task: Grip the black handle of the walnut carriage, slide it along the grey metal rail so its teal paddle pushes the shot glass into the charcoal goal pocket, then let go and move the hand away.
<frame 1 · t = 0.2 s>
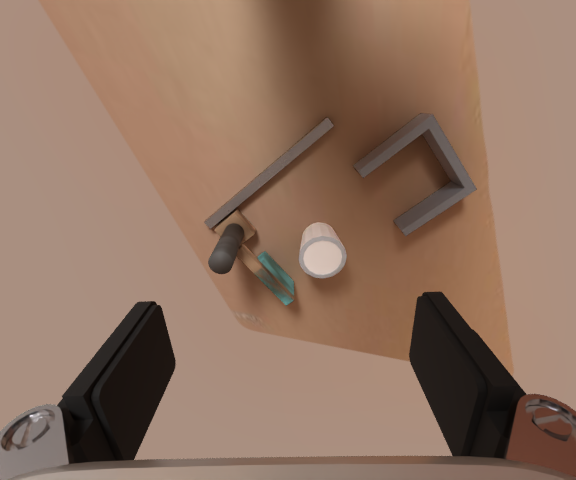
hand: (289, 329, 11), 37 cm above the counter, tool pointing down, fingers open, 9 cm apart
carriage: (256, 270, 45), point 6 cm above the counter, slide at 0.0 cm
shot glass: (318, 237, 50), on the counter
rail: (265, 175, 46), on the counter
goal: (404, 176, 45), on the counter
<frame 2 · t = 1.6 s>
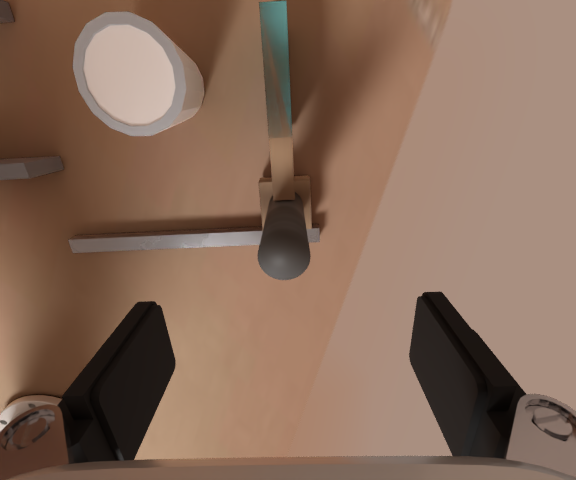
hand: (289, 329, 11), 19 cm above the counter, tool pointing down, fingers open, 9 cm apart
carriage: (280, 142, 21), point 6 cm above the counter, slide at 0.0 cm
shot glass: (171, 86, 25), on the counter
rail: (197, 236, 30), on the counter
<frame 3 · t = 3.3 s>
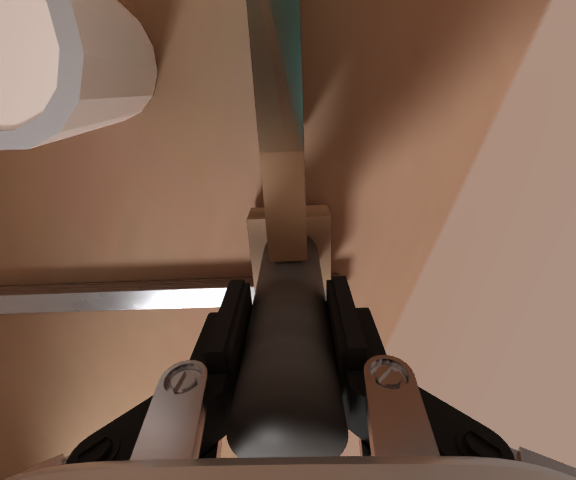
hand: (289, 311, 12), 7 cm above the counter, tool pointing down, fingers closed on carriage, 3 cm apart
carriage: (282, 162, 11), point 6 cm above the counter, slide at 0.0 cm, touching gripper
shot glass: (102, 62, 15), on the counter
rail: (159, 289, 20), on the counter
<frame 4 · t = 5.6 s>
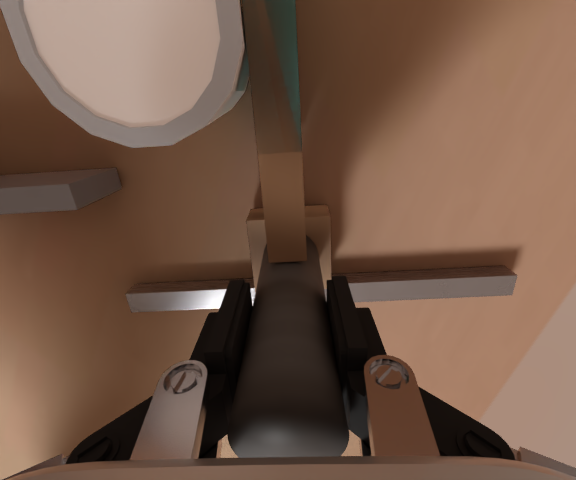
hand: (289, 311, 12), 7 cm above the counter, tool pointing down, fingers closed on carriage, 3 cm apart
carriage: (280, 162, 11), point 6 cm above the counter, slide at 10.4 cm, touching gripper, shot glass
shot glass: (195, 59, 15), on the counter, touching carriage
rail: (315, 284, 20), on the counter
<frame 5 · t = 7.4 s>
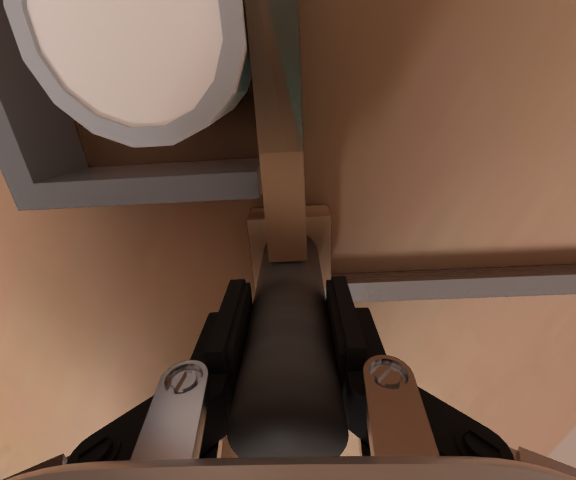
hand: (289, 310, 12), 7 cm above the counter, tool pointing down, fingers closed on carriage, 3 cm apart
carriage: (281, 162, 11), point 6 cm above the counter, slide at 18.8 cm, touching gripper, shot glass
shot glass: (197, 59, 15), on the counter, touching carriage
rail: (444, 279, 20), on the counter
goal: (155, 59, 15), on the counter
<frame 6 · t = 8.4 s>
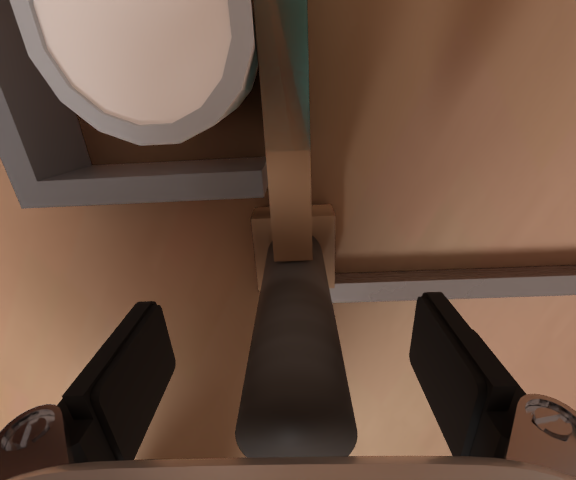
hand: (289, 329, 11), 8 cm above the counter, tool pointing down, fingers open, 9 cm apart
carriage: (288, 161, 11), point 6 cm above the counter, slide at 18.8 cm, touching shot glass
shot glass: (202, 57, 15), on the counter, touching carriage
rail: (447, 279, 20), on the counter
goal: (159, 57, 15), on the counter
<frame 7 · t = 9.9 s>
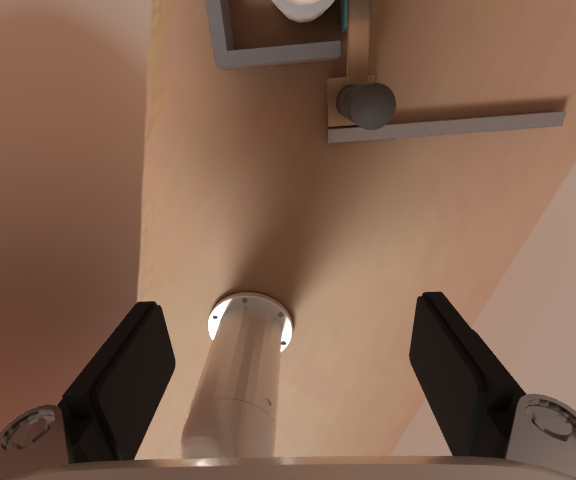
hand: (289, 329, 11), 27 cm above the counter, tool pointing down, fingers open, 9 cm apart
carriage: (360, 24, 24), point 6 cm above the counter, slide at 18.8 cm, touching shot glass
rail: (438, 126, 33), on the counter
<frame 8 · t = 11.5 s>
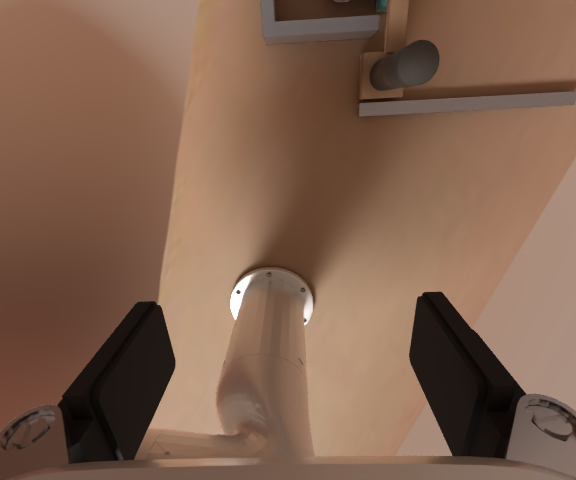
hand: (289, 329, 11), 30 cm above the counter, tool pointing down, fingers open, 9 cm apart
rail: (461, 104, 36), on the counter
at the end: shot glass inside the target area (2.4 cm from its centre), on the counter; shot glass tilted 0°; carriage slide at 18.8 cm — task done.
